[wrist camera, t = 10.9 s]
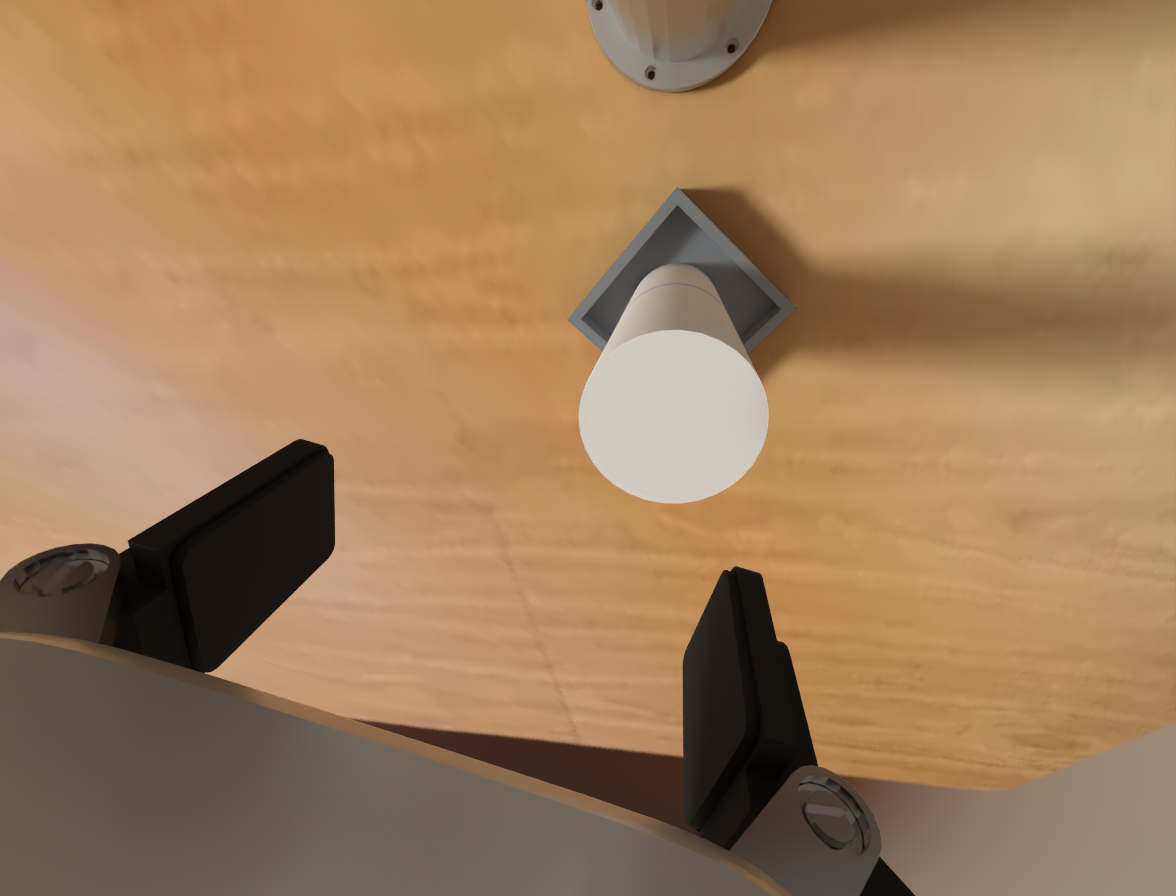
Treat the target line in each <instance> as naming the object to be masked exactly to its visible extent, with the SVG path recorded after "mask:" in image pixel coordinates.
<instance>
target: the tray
mask: <svg viewBox="0 0 1176 896" xmlns="http://www.w3.org/2000/svg"><path fill="white" fill-rule="evenodd" d="M672 263H682V264H688V265H691V266H693V267H696V268H698V269H699V270H701V271H702V272H704V273H705V274H706V275H707V276H708V277H709V279H710V280H711V282H712V283H713V285H714V287H715V289H716V291H717V293H718V295H719V297H720V299H721V301H722V303H723V305H724V307H725V309H726V311H727V313H728V315H729V317H730V319H731V321H732V323H733V325H734V327H735V329H736V331H737V333H738V335H739V337H740V339H741V342H742V344H743V346H744V348H745V350H746V352H747V354H748V353H750V352H751V351H752V350H753V349H754V348H755V347H756V346H757V345H758V344H759V343H760V342H761V341H763V340H764V339H765V338H766V337H767V336H768V335H769V334H770V333H771V332H772V331H773V330H774V329H775V328H777V327H778V326H779V325H780V324H781V323H782V322H783V321H784V320H785V319H786V318H787V317H788V316H790V315H791V314H792V313H793V312H794V311H795V310H796V309H797V308H796V307H795V306H794V305H793V304H792V303H791V302H790V301H789V300H788V299H787V298H786V297H785V296H784V295H783V294H782V293H781V292H780V291H779V290H778V289H777V288H776V287H775V286H774V285H773V284H772V283H771V281H770V280H769V279H768V278H767V277H766V276H765V275H764V274H763V273H762V272H761V271H760V270H759V269H758V268H757V267H756V266H755V265H754V264H753V263H752V262H751V261H750V260H749V259H748V258H747V257H746V256H745V255H744V254H743V253H742V252H741V251H740V250H739V249H738V248H737V247H736V246H735V245H734V244H733V243H732V242H731V241H730V240H729V239H728V238H727V237H726V236H725V235H724V234H723V233H722V232H721V231H720V230H719V229H718V228H717V227H716V226H715V225H714V224H713V223H712V222H711V221H710V220H709V219H708V218H707V217H706V216H705V215H704V214H703V213H702V212H701V211H700V210H699V209H698V208H697V207H696V206H695V204H694V203H693V202H692V201H691V200H690V199H689V198H688V197H687V196H686V195H685V194H684V193H683V192H682V191H681V190H680V189H679V188H678V187H677V188H676V189H675V190H674V192H673V193H672V194H671V195H670V196H669V198H668V199H667V200H666V201H665V203H664V204H663V205H662V206H661V207H660V209H659V210H658V211H657V212H656V213H655V215H654V216H653V217H652V218H651V219H650V221H649V222H648V223H647V224H646V225H645V227H644V228H643V229H642V230H641V231H640V233H639V234H638V235H637V236H636V238H635V239H634V240H633V241H632V242H631V244H630V245H629V246H628V247H627V248H626V250H625V251H624V252H623V253H622V254H621V256H620V257H619V258H618V259H617V260H616V262H615V263H614V264H613V265H612V266H611V268H610V269H609V270H608V271H607V272H606V274H605V275H604V276H603V277H602V279H601V280H600V281H599V282H598V283H597V285H596V286H595V287H594V288H593V289H592V291H591V292H590V293H589V294H588V295H587V297H586V298H585V299H584V300H583V301H582V303H581V304H580V305H579V306H578V307H577V309H576V310H575V311H574V312H573V314H572V315H571V316H570V317H569V318H568V321H569V322H570V323H572V324H573V325H574V326H575V327H576V328H577V329H578V330H579V331H580V332H582V333H583V334H584V335H585V336H586V337H587V338H588V339H589V340H590V341H592V342H593V343H594V344H595V345H596V346H597V347H598V348H599V349H600V350H602V351H603V350H604V349H605V347H606V345H607V343H608V341H609V339H610V337H611V335H612V333H613V332H614V330H615V328H616V326H617V324H618V322H619V320H620V318H621V317H622V315H623V313H624V311H625V309H626V307H627V305H628V303H629V302H630V300H631V298H632V296H633V294H634V292H635V290H636V289H637V287H638V285H639V284H640V282H641V281H642V280H643V278H644V277H645V276H646V275H647V274H649V273H650V272H651V271H652V270H654V269H656V268H658V267H660V266H663V265H667V264H672Z"/></svg>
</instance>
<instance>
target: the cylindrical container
mask: <svg viewBox="0 0 1176 896" xmlns="http://www.w3.org/2000/svg"><path fill="white" fill-rule="evenodd" d="M768 419H769V410H768V404H767V397H766V393H765V391H764V388H763V386H762V383H761V381H760V378H759V376H758V374H757V372H756V370H755V368H754V366H753V364H752V362H751V360H750V358H749V356H748V354H747V352H746V350H745V348H744V346H743V344H742V342H741V339H740V337H739V335H738V333H737V331H736V329H735V327H734V325H733V323H732V321H731V319H730V317H729V315H728V313H727V311H726V309H725V307H724V305H723V303H722V301H721V299H720V297H719V295H718V293H717V291H716V289H715V287H714V285H713V283H712V282H711V280H710V279H709V277H708V276H707V275H706V274H705V273H704V272H702V271H701V270H699V269H698V268H696V267H693V266H691V265H688V264H682V263H672V264H667V265H663V266H660V267H658V268H656V269H654V270H652V271H651V272H650V273H649V274H647V275H646V276H645V277H644V278H643V280H642V281H641V282H640V284H639V285H638V287H637V289H636V290H635V292H634V294H633V296H632V298H631V300H630V302H629V303H628V305H627V307H626V309H625V311H624V313H623V315H622V317H621V318H620V320H619V322H618V324H617V326H616V328H615V330H614V332H613V333H612V335H611V337H610V339H609V341H608V343H607V345H606V347H605V349H604V350H603V352H602V354H601V356H600V358H599V360H598V362H597V364H596V365H595V367H594V369H593V371H592V373H591V375H590V377H589V379H588V381H587V383H586V385H585V388H584V391H583V394H582V397H581V401H580V409H579V425H580V434H581V437H582V440H583V443H584V447H585V450H586V451H587V453H588V455H589V457H590V458H591V460H592V462H593V464H594V465H595V466H596V467H597V469H598V470H599V471H600V472H601V473H602V475H603V476H605V477H606V478H607V479H608V480H609V481H610V482H612V483H613V484H614V485H615V486H617V487H619V488H620V489H622V490H624V491H625V492H627V493H629V494H631V495H634V496H637V497H639V498H642V499H645V500H649V501H655V502H660V503H686V502H692V501H698V500H701V499H704V498H707V497H710V496H713V495H715V494H717V493H719V492H721V491H723V490H725V489H727V488H728V487H730V486H731V485H732V484H734V483H735V482H736V481H737V480H739V479H740V478H741V477H742V476H743V475H744V474H745V473H746V472H747V471H748V469H749V468H750V467H751V466H752V465H753V464H754V462H755V460H756V458H757V457H758V455H759V453H760V451H761V450H762V447H763V444H764V441H765V438H766V435H767V431H768Z"/></svg>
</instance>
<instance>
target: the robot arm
mask: <svg viewBox="0 0 1176 896" xmlns="http://www.w3.org/2000/svg"><path fill="white" fill-rule="evenodd" d="M586 3H587V10H588V15H589V18H590V21H591V24H592V28H593V31H594V34H595V36H596V38H597V40H598V42H599V45H600V47H601V48H602V50H603V51H604V53H605V54H606V56H607V58H608V59H609V61H610V62H611V63H612V64H613V65H614V67H615V68H616V69H617V70H618V71H619V72H620V73H621V74H622V75H623V76H625V77H626V78H628V79H629V80H631V81H632V82H634V83H635V84H636V85H639V86H642V87H644V88H647V89H649V90H652V91H659V92H666V93H672V92H683V91H688V90H691V89H694V88H697V87H700V86H703V85H705V84H707V83H708V82H710V81H712V80H714V79H716V78H717V77H719V76H720V75H721V74H723V73H724V72H725V71H726V70H728V69H729V68H730V67H731V66H732V65H734V64H735V63H736V61H737V60H738V59H739V58H740V57H741V56H742V55H743V53H744V52H745V51H746V50H747V49H748V48H749V46H750V44H751V43H752V41H753V40H754V38H755V36H756V35H757V33H758V32H759V30H760V29H761V26H762V24H763V22H764V20H765V18H766V16H767V14H768V11H769V8H770V6H771V3H772V0H586ZM599 3H602V4H603V8H602V9H601V10H600V11H598V10H596V6H597V4H599ZM729 46H734V48H735V51H734V52H733V53H729V52H728V51H727V48H728V47H729ZM650 72H654V73H655V77H654V79H652V80H650V79H649V78H648V75H649V73H650ZM128 543H129V547H130V548H128V549H127V550H125V551H123V552H122V553H120V554H118V553H117V551H116V550H115V549H113V548H110V547H108V546H105V545H99V544H91V543H89V544H73V545H68V546H62V547H57V548H53V549H50V550H47V551H44V552H41V553H38V554H36V555H34V556H32V557H29V558H27V559H25V560H23V561H21V562H20V563H18V564H17V565H16V566H14V567H13V568H11V569H10V570H9V571H8V572H7V573H6V574H5V575H4V577H3V578H2V579H1V580H0V896H915V895H914V894H913V893H912V892H911V891H910V889H909V888H908V887H907V886H906V885H905V884H904V883H903V882H902V881H901V880H900V878H899V877H898V876H897V875H896V874H895V873H894V872H893V871H892V870H891V869H890V868H889V866H888V865H887V864H886V863H885V862H884V861H883V860H882V859H881V858H880V857H879V855H880V851H881V847H882V845H881V837H880V830H879V828H878V825H877V823H876V820H875V817H874V815H873V813H872V812H871V810H870V809H869V807H868V805H867V804H866V802H865V801H864V799H863V798H862V797H861V796H860V795H859V793H858V792H857V791H856V790H855V789H854V788H853V787H852V786H851V785H850V784H849V783H847V782H846V781H845V780H844V779H843V778H841V777H840V776H839V775H837V774H835V773H833V772H831V771H829V770H827V769H826V768H822V767H818V764H817V760H816V756H815V752H814V748H813V744H812V740H811V736H810V732H809V728H808V724H807V720H806V716H805V712H804V708H803V704H802V700H801V696H800V692H799V688H798V684H797V680H796V676H795V672H794V668H793V664H792V660H791V656H790V653H789V650H788V647H787V646H786V645H785V644H784V643H783V642H780V641H777V639H776V635H775V630H774V626H773V622H772V617H771V613H770V608H769V604H768V600H767V595H766V591H765V587H764V582H763V578H762V575H761V574H760V573H757V572H754V571H750V570H747V569H744V568H740V567H737V566H736V567H734V568H733V569H732V570H731V571H727V570H724V571H723V572H722V574H721V576H720V578H719V580H718V582H717V585H716V587H715V589H714V591H713V593H712V595H711V597H710V599H709V602H708V604H707V606H706V608H705V610H704V612H703V614H702V617H701V619H700V621H699V623H698V625H697V627H696V629H695V632H694V634H693V636H692V638H691V640H690V642H689V644H688V646H687V649H686V651H685V655H684V659H683V753H684V820H685V824H686V825H687V826H689V827H692V828H693V834H691V833H689V832H686V831H684V830H682V829H679V828H677V827H674V826H672V825H669V824H667V823H664V822H661V821H658V820H656V819H653V818H650V817H647V816H644V815H641V814H638V813H635V812H632V811H630V810H627V809H624V808H621V807H618V806H615V805H612V804H609V803H606V802H604V801H601V800H598V799H595V798H592V797H589V796H586V795H583V794H580V793H577V792H574V791H571V790H568V789H565V788H562V787H559V786H556V785H553V784H550V783H547V782H544V781H541V780H537V779H534V778H531V777H528V776H525V775H522V774H519V773H516V772H513V771H510V770H507V769H503V768H500V767H497V766H494V765H491V764H488V763H485V762H482V761H479V760H476V759H473V758H470V757H467V756H464V755H461V754H457V753H454V752H451V751H448V750H445V749H442V748H439V747H436V746H432V745H429V744H426V743H423V742H420V741H417V740H414V739H411V738H408V737H404V736H401V735H398V734H395V733H392V732H389V731H386V730H382V729H379V728H376V727H373V726H370V725H367V724H364V723H360V722H357V721H354V720H351V719H348V718H345V717H342V716H339V715H335V714H332V713H329V712H326V711H323V710H320V709H317V708H313V707H310V706H307V705H304V704H301V703H297V702H294V701H291V700H288V699H285V698H282V697H278V696H275V695H272V694H269V693H266V692H262V691H259V690H256V689H253V688H250V687H246V686H243V685H240V684H237V683H234V682H230V681H227V680H224V679H221V678H218V677H214V676H211V675H208V674H205V672H207V673H208V672H212V671H214V670H215V669H216V668H218V667H219V666H220V665H221V664H222V663H223V662H224V661H225V660H226V659H227V658H228V657H229V656H230V655H231V654H232V653H233V652H234V651H235V650H236V649H237V648H238V647H239V646H240V645H241V644H242V643H243V642H244V641H245V640H246V639H247V638H248V637H249V636H250V635H251V634H252V633H253V632H254V631H255V630H256V629H257V628H258V627H259V626H260V625H261V624H262V623H263V622H264V621H265V620H266V619H267V618H268V617H269V616H270V615H271V614H272V613H273V612H274V611H275V610H277V609H278V608H279V607H280V606H281V605H282V604H283V603H284V602H285V601H286V600H287V599H288V598H289V597H290V596H291V595H292V594H293V593H294V592H295V591H296V590H297V589H298V588H299V587H300V586H301V585H302V584H303V583H304V582H305V581H306V580H307V579H308V578H309V577H310V576H311V575H312V574H313V573H314V572H315V571H316V570H317V569H318V568H319V567H320V566H321V565H322V564H323V563H324V562H325V561H326V560H327V559H328V558H329V557H330V555H331V554H332V552H333V549H334V546H335V507H334V459H333V456H332V455H331V454H329V452H328V449H327V447H325V446H323V445H320V444H317V443H313V442H310V441H306V440H303V439H298V440H296V441H294V442H292V443H291V444H289V445H287V446H286V447H284V448H282V449H281V450H279V451H277V452H276V453H274V454H272V455H270V456H269V457H267V458H265V459H264V460H262V461H260V462H259V463H257V464H255V465H254V466H252V467H250V468H249V469H247V470H245V471H244V472H242V473H240V474H239V475H237V476H235V477H234V478H232V479H230V480H229V481H227V482H225V483H224V484H222V485H220V486H219V487H217V488H215V489H214V490H212V491H210V492H208V493H207V494H205V495H203V496H202V497H200V498H198V499H197V500H195V501H193V502H192V503H190V504H188V505H187V506H185V507H183V508H182V509H180V510H178V511H177V512H175V513H173V514H172V515H170V516H168V517H167V518H165V519H163V520H162V521H160V522H158V523H157V524H155V525H153V526H152V527H150V528H148V529H146V530H145V531H143V532H141V533H140V534H138V535H136V536H135V537H133V538H131V539H130V540H128Z"/></svg>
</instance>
